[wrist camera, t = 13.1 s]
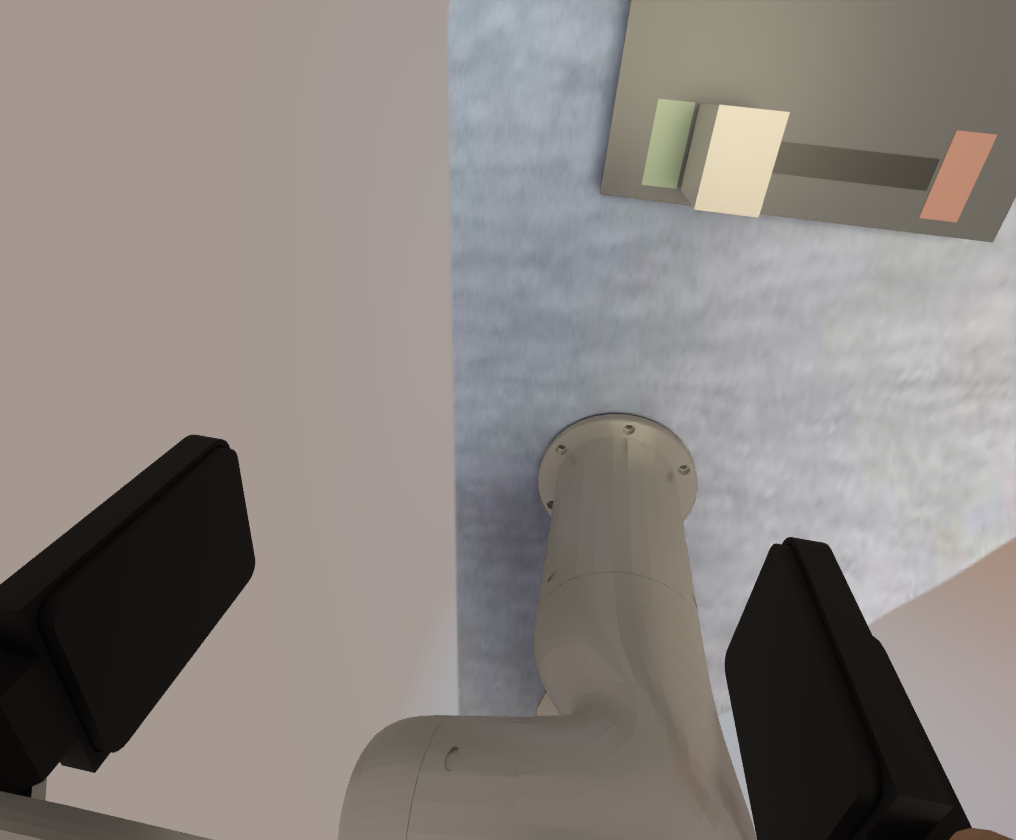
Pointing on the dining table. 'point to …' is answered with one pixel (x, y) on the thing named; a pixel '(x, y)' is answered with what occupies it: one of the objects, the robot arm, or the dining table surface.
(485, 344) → the dining table surface
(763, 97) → the breaker panel
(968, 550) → the dining table surface
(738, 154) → the block
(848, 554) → the dining table surface
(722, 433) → the dining table surface
